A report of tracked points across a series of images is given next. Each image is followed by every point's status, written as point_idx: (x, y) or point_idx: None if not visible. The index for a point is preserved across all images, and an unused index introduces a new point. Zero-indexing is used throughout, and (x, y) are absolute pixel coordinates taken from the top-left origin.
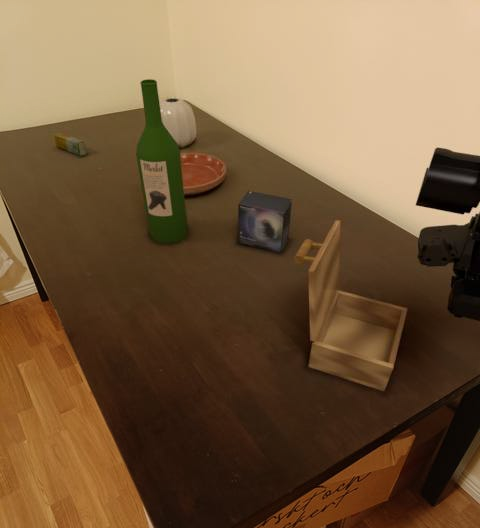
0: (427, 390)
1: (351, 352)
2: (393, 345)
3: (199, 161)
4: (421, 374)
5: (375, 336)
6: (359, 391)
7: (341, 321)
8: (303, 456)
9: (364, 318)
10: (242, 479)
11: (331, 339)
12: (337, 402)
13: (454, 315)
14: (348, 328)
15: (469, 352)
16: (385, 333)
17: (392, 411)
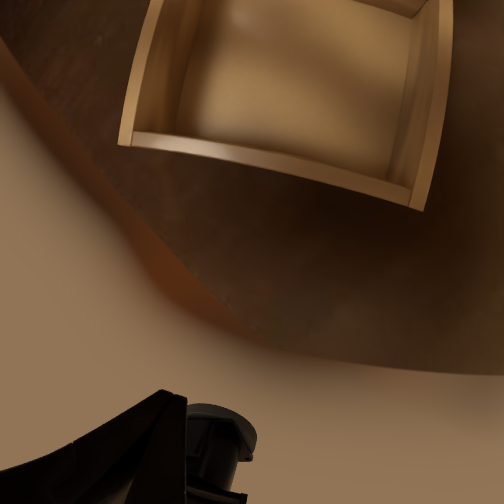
0: (195, 243)
1: (154, 23)
2: (211, 141)
3: None
4: (241, 236)
5: (348, 118)
6: None
7: (386, 31)
8: (37, 47)
9: (406, 88)
10: (19, 5)
11: (303, 5)
12: (123, 55)
13: (158, 392)
14: (362, 45)
15: (334, 351)
16: (367, 149)
17: (123, 164)
